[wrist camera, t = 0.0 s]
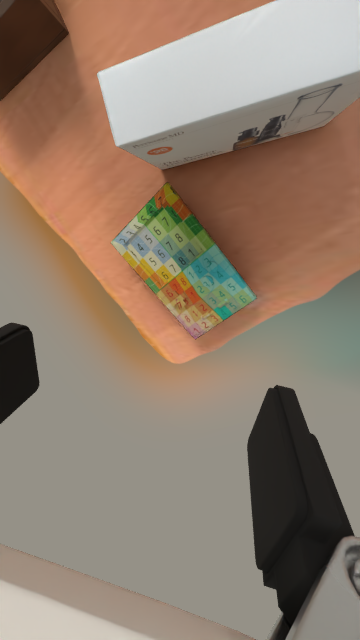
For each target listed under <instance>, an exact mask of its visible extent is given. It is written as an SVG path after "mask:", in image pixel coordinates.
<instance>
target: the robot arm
mask: <svg viewBox="0 0 360 640" xmlns="http://www.w3.org/2000/svg"><path fill="white" fill-rule="evenodd" d="M38 387H39V377H38V370H37V363H36V356H35V349H34V343H33V335H32V332H31V331H30V329H29V328H28V327H27V326H24V325H20V324H16V323H9V324H7V325H5V326H3V327H1V328H0V424H1V423H2V422H3V421H4V420H5V419H6V418H7V417H8V416H10V415H11V414H12V413H13V412H14V411H15V410H16V409H17V408H18V407H19V406H20V405H22V404H23V403H24V402H25V401H26V400H27V399H28V398H29V397H30V396H31V395H32V394H34V393H35V392H36V391H37V389H38ZM247 451H248V464H249V476H250V491H251V505H252V517H253V532H254V546H255V559H256V565H257V568H258V569H260V570H262V571H263V582H264V586H267V587H270V588H273V589H276V590H277V599H278V607H279V608H280V610H281V611H282V612H281V614H280V615H279V618H278V619H277V621H276V623H275V625H274V626H273V628H272V630H271V632H270V634H269V636H268V637H267V639H266V640H360V537H355V536H354V533H353V531H352V528H351V525H350V523H349V520H348V518H347V515H346V512H345V510H344V508H343V505H342V502H341V500H340V497H339V494H338V492H337V489H336V487H335V484H334V481H333V479H332V476H331V474H330V471H329V469H328V466H327V463H326V461H325V458H324V456H323V453H322V450H321V448H320V445H319V443H318V440H317V438H316V437H315V436H314V435H313V434H311V433H310V432H309V429H308V427H307V424H306V421H305V418H304V416H303V413H302V410H301V408H300V405H299V402H298V399H297V396H296V394H295V391H294V390H293V389H291V388H287V387H282V386H278V385H276V386H275V387H274V388H269V389H268V391H267V393H266V396H265V398H264V401H263V403H262V406H261V409H260V412H259V414H258V416H257V419H256V421H255V424H254V426H253V429H252V431H251V434H250V436H249V439H248V445H247ZM0 640H256V639H253V638H251V637H249V636H247V635H245V634H243V633H240V632H238V631H236V630H233V629H231V628H228V627H225V626H223V625H220V624H218V623H215V622H213V621H210V620H207V619H205V618H202V617H200V616H197V615H194V614H192V613H189V612H187V611H184V610H182V609H179V608H176V607H174V606H171V605H169V604H166V603H163V602H161V601H158V600H155V599H152V598H150V597H147V596H144V595H141V594H138V593H136V592H133V591H130V590H127V589H124V588H122V587H119V586H116V585H113V584H111V583H108V582H105V581H103V580H100V579H97V578H94V577H91V576H89V575H86V574H83V573H80V572H78V571H75V570H72V569H69V568H66V567H64V566H61V565H58V564H55V563H53V562H50V561H47V560H44V559H41V558H38V557H36V556H33V555H30V554H27V553H24V552H22V551H19V550H16V549H13V548H10V547H8V546H5V545H2V544H0Z"/></svg>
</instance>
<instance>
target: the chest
mask: <svg viewBox="0 0 360 640" xmlns="http://www.w3.org/2000/svg"><path fill="white" fill-rule="evenodd" d="M68 33H69V32H68V30H67V28H66V25H65V23H64V21H63V19H62V17H61V15H60V13H59V10H58V8H57V6H56V4H55V2H54V0H0V100H1V99H2V98H3V97H4V96H5V95H6V94H8V93H9V92H10V91H11V90H12V89H13V88H14V87H15V86H16V85H17V84H18V83H19V82H20V81H21V80H22V79H23V78H24V77H25V76H26V75H27V74H28V73H29V72H30V71H31V70H32V69H33V68H34V67H35V66H36V65H37V64H38V63H39V62H40V61H41V60H42V59H43V58H44V57H45V56H46V55H47V54H48V53H49V52H50V51H51V50H52V49H53V48H54V47H55V46H56V45H57V44H58V43H59V42H60V41H61V40H62V39H63V38H64V37H65V36H66V35H67V34H68Z"/></svg>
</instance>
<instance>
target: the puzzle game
mask: <svg viewBox="0 0 360 640" xmlns="http://www.w3.org/2000/svg"><path fill="white" fill-rule="evenodd" d="M111 244H112V245H113V246H114V247H115V248H116V250H117V251H118V252H119V253H120V254H121V255H122V256H123V257H124V259H125V260H126V261H127V262H128V263H129V264H130V265H131V267H132V268H133V269H134V270H135V271H136V272H137V273H138V275H139V276H140V277H141V278H142V279H143V280H144V281H145V283H146V284H147V285H148V286H149V287H150V288H151V289H152V291H153V292H154V293H155V294H156V295H157V296H158V297H159V299H160V300H161V301H162V302H163V303H164V304H165V306H166V307H167V308H168V309H169V310H170V311H171V312H172V314H173V315H174V316H175V317H176V318H177V319H178V321H179V322H180V323H181V324H182V325H183V326H184V327H185V329H186V330H187V331H188V332H189V333H190V334H191V336H192V337H193V338H194V339H197V338H198V337H200V336H201V335H203V334H204V333H206V332H207V331H209V330H210V329H212V328H213V327H215V326H216V325H218V324H219V323H221V322H222V321H224V320H225V319H227V318H228V317H230V316H231V315H233V314H234V313H236V312H237V311H239V310H240V309H242V308H243V307H245V306H246V305H248V304H249V303H251V302H252V301H254V300H256V299H257V298H256V295H255V294H254V293H253V291H252V290H251V289H250V288H249V286H248V285H247V284H246V282H245V281H244V280H243V278H242V277H241V276H240V275H239V273H238V272H237V271H236V269H235V268H234V267H233V265H232V264H231V263H230V262H229V260H228V259H227V258H226V256H225V255H224V254H223V252H222V251H221V250H220V249H219V247H218V246H217V245H216V243H215V242H214V241H213V240H212V238H211V237H210V236H209V234H208V233H207V232H206V230H205V229H204V228H203V227H202V225H201V224H200V223H199V221H198V220H197V219H196V217H195V216H194V215H193V214H192V212H191V211H190V210H189V208H188V207H187V206H186V204H185V203H184V202H183V201H182V199H181V198H180V197H179V195H178V194H177V193H176V191H175V190H174V189H173V188H172V186H171V185H170V184H169V183H168V182H166V184H165V185H164V186H163V187H162V188H161V189H160V190H159V191H158V192H157V193H156V194H155V195H154V196H153V198H152V199H151V200H150V201H149V202H148V203H147V204H146V205H145V206H144V207H143V208H142V209H141V211H140V212H139V213H138V214H137V215H136V216H135V217H134V218H133V219H132V220H131V221H130V222H129V223H128V225H127V226H126V227H125V228H124V229H123V230H122V231H121V232H120V233H119V234H118V235H117V236H116V237H115V239H114V240H113V241H112V242H111Z"/></svg>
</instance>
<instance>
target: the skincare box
mask: <svg viewBox="0 0 360 640" xmlns="http://www.w3.org/2000/svg"><path fill="white" fill-rule="evenodd" d="M97 76H98V79H99V82H100V86H101V90H102V94H103V98H104V102H105V106H106V110H107V114H108V118H109V123H110V126H111V130H112V134H113V137H114V141H115V144H116V146H117V147H120V148H122V149H124V150H126V151H127V152H129V153H131V154H133V155H135V156H137V157H139V158H141V159H143V160H145V161H147V162H148V163H150V164H152V165H154V166H156V167H158V168H160V169H161V170H163V169H167V168H171V167H175V166H179V165H182V164H186V163H190V162H193V161H197V160H201V159H205V158H208V157H212V156H216V155H219V154H223V153H227V152H231V151H234V150H238V149H242V148H246V147H249V146H253V145H257V144H260V143H264V142H268V141H271V140H275V139H279V138H283V137H286V136H290V135H294V134H297V133H301V132H305V131H308V130H312V129H316V128H319V127H323V126H325V125H326V124H327V123H328V122H329V121H331V120H332V119H333V118H335V117H336V116H337V115H338V114H340V113H341V112H342V111H343V110H344V109H346V108H347V107H348V106H349V105H351V104H352V103H353V102H354V101H356V100H357V99H358V98H360V0H276V1H273V2H271V3H268V4H266V5H263V6H260V7H258V8H255V9H253V10H250V11H248V12H245V13H243V14H240V15H238V16H235V17H233V18H230V19H228V20H226V21H223V22H221V23H218V24H216V25H213V26H211V27H208V28H206V29H203V30H201V31H198V32H196V33H193V34H191V35H188V36H186V37H184V38H181V39H179V40H176V41H174V42H171V43H169V44H166V45H164V46H161V47H159V48H157V49H154V50H152V51H149V52H147V53H144V54H142V55H139V56H137V57H134V58H132V59H130V60H127V61H125V62H122V63H120V64H117V65H115V66H112V67H110V68H107V69H105V70H102V71H100V72H98V73H97Z"/></svg>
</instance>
